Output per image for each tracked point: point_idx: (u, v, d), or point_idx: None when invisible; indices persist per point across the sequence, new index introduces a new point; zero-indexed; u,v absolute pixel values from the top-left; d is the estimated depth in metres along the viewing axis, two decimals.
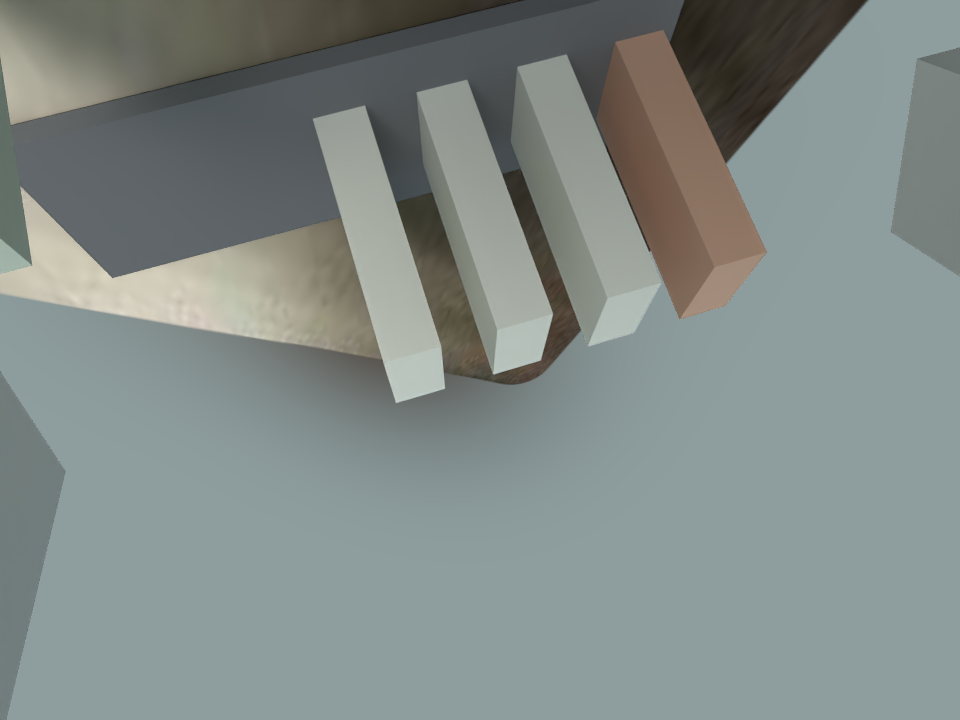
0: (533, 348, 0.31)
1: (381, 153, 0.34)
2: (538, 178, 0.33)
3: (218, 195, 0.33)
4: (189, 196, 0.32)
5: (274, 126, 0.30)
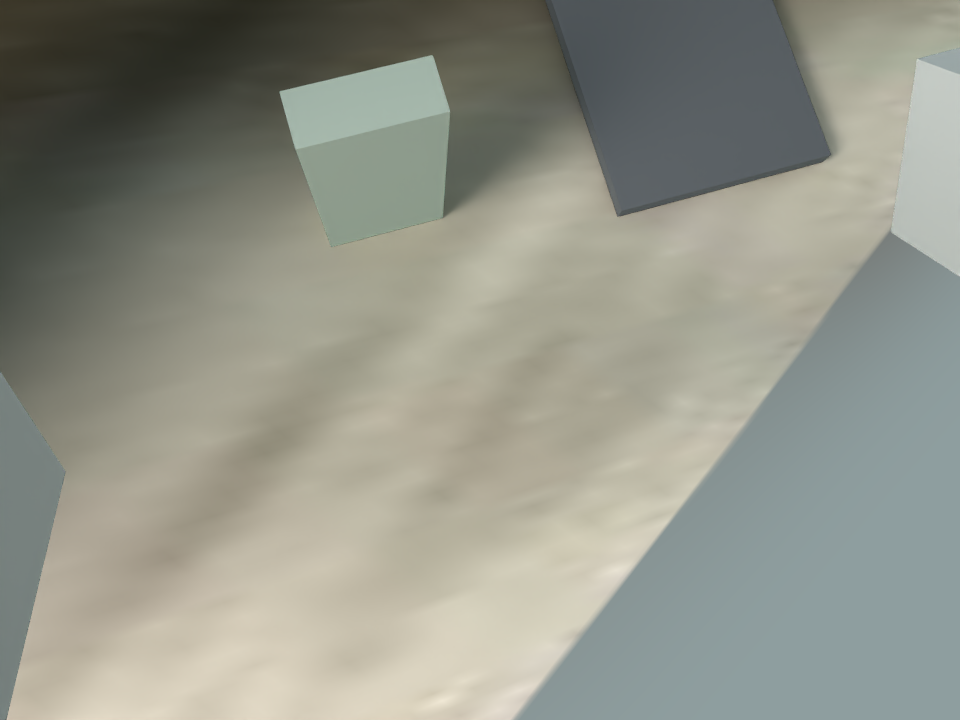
0: None
1: None
2: None
3: (701, 56, 0.37)
4: (700, 79, 0.37)
5: (609, 12, 0.37)
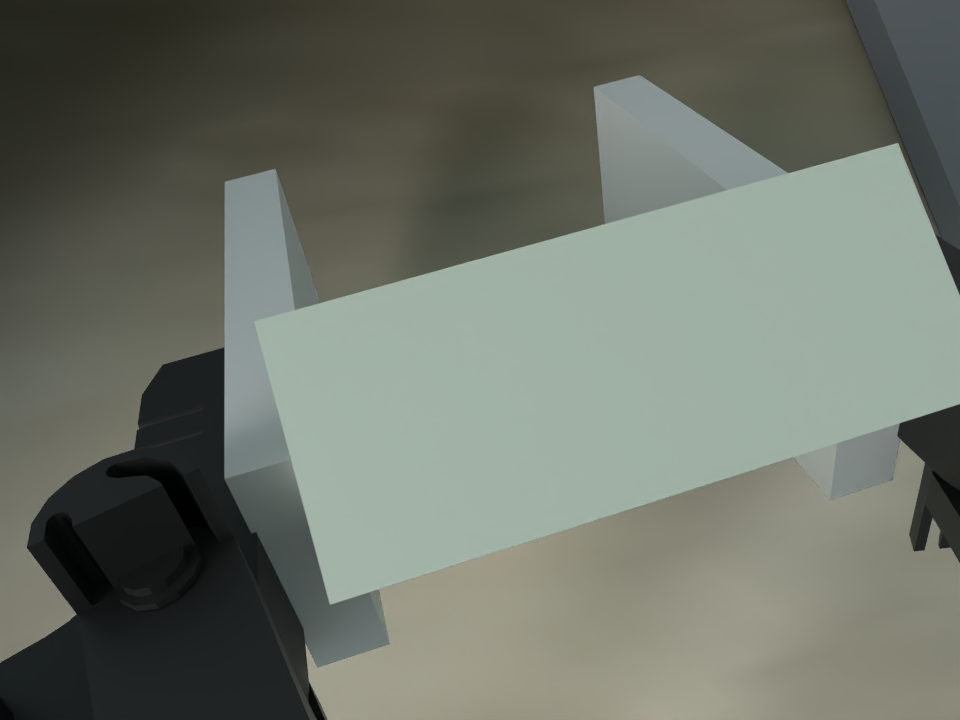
0: None
1: None
2: None
3: None
4: None
5: None
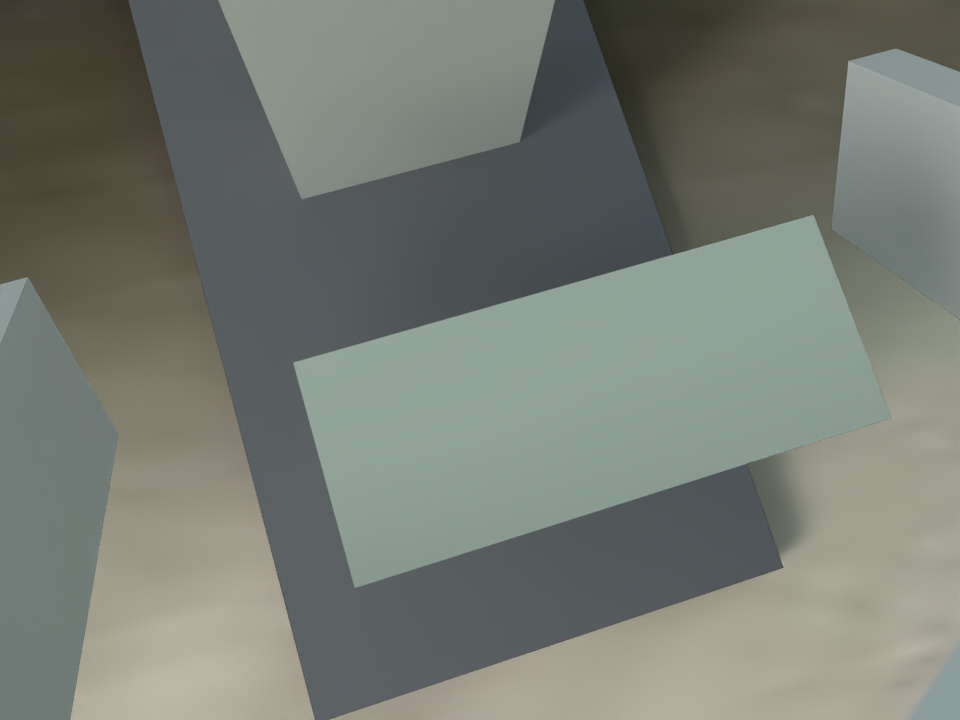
0: None
1: None
2: None
3: None
4: None
5: (313, 261, 0.18)
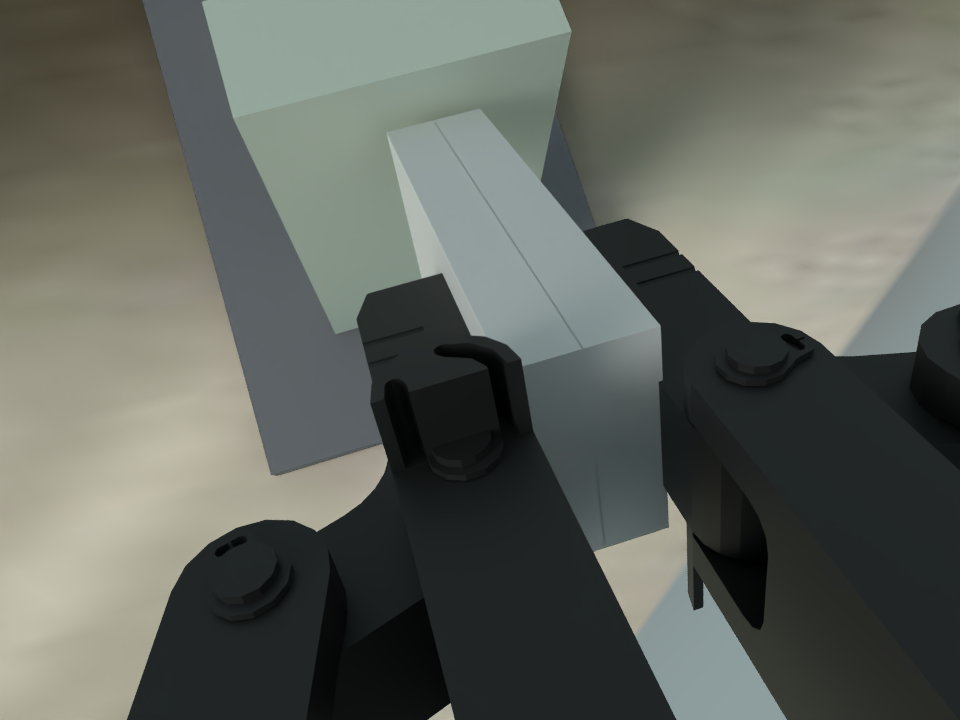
0: None
1: None
2: None
3: None
4: None
5: None
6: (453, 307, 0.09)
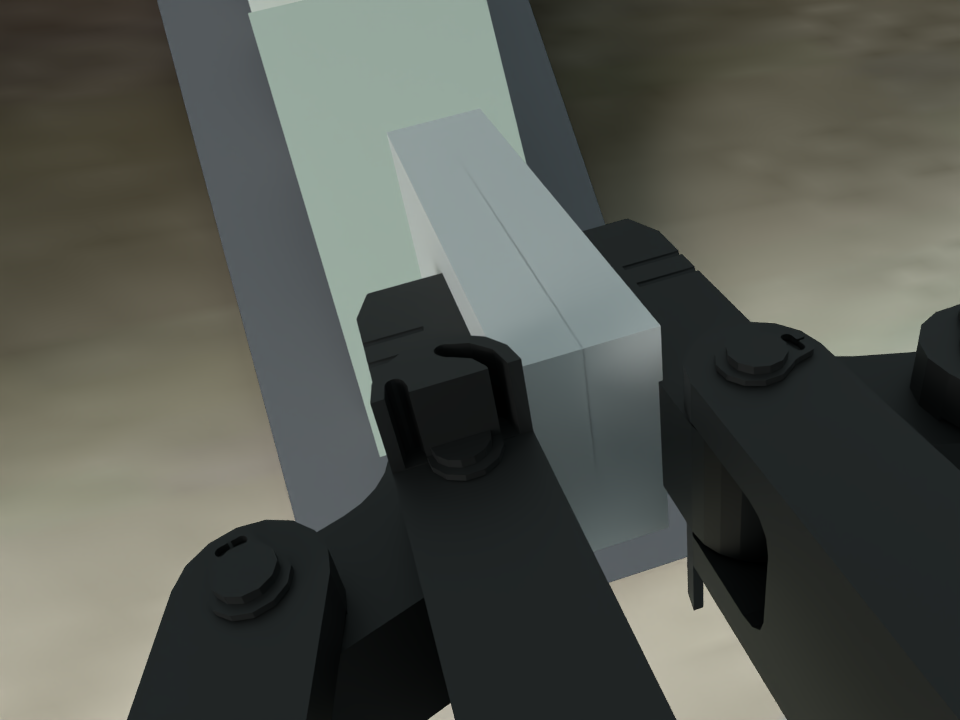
0: None
1: None
2: None
3: None
4: None
5: (332, 297, 0.21)
6: (453, 307, 0.09)
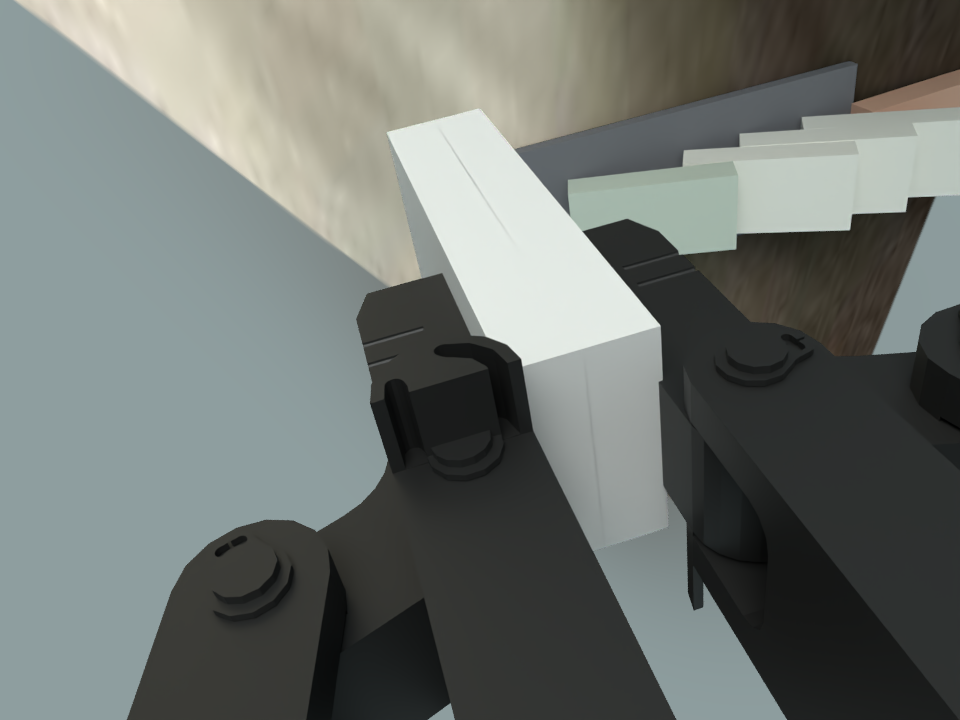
0: None
1: None
2: None
3: None
4: None
5: (625, 162, 0.52)
6: (453, 307, 0.09)
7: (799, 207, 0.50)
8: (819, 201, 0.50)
